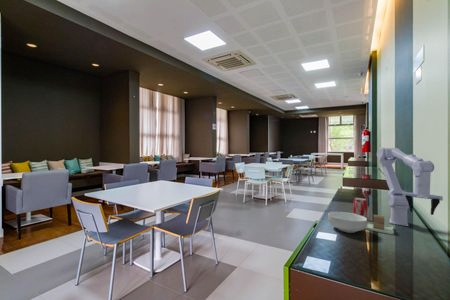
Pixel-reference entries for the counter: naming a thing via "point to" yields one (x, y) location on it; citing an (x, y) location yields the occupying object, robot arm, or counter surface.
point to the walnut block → (378, 222)
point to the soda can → (360, 207)
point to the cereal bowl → (347, 221)
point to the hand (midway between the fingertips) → (421, 212)
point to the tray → (387, 229)
